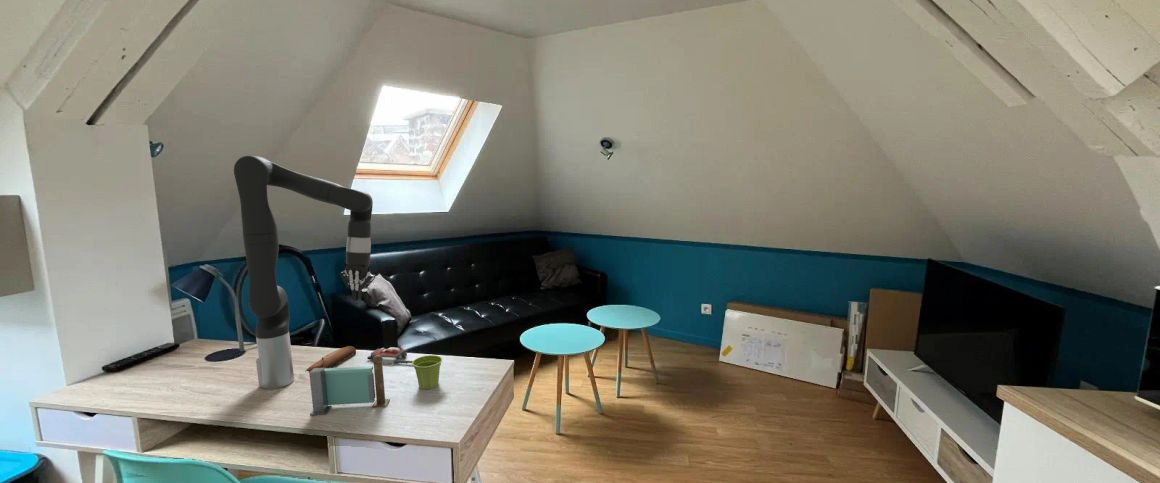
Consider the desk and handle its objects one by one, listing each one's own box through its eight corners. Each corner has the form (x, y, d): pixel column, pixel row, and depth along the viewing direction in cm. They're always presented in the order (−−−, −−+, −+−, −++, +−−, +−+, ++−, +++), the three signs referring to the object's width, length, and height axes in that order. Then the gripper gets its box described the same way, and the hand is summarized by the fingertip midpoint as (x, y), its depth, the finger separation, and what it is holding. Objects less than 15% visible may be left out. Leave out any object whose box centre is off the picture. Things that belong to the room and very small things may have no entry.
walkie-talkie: (363, 363, 176) (413, 367, 173) (362, 352, 176) (412, 355, 172) (377, 354, 185) (425, 357, 181) (376, 343, 184) (424, 346, 181)
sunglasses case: (337, 352, 186) (343, 338, 185) (351, 362, 186) (358, 348, 184) (303, 372, 169) (310, 357, 167) (319, 382, 168) (326, 367, 167)
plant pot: (449, 385, 157) (447, 360, 156) (423, 395, 151) (421, 369, 149) (434, 376, 164) (432, 352, 162) (408, 386, 157) (406, 361, 156)
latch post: (310, 415, 139) (305, 373, 137) (316, 408, 143) (312, 367, 141) (325, 414, 139) (321, 372, 137) (331, 407, 144) (327, 366, 141)
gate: (375, 400, 146) (372, 366, 144) (373, 403, 144) (371, 368, 142) (321, 403, 144) (318, 368, 142) (318, 406, 142) (315, 371, 141)
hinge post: (372, 407, 143) (368, 358, 140) (376, 401, 147) (372, 353, 144) (386, 407, 143) (382, 357, 141) (389, 400, 147) (386, 352, 145)
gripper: (333, 249, 159) (331, 300, 160) (368, 253, 156) (366, 305, 158) (349, 247, 166) (347, 296, 168) (382, 251, 164) (380, 301, 165)
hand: (356, 300), depth 163 cm, fingers closed
